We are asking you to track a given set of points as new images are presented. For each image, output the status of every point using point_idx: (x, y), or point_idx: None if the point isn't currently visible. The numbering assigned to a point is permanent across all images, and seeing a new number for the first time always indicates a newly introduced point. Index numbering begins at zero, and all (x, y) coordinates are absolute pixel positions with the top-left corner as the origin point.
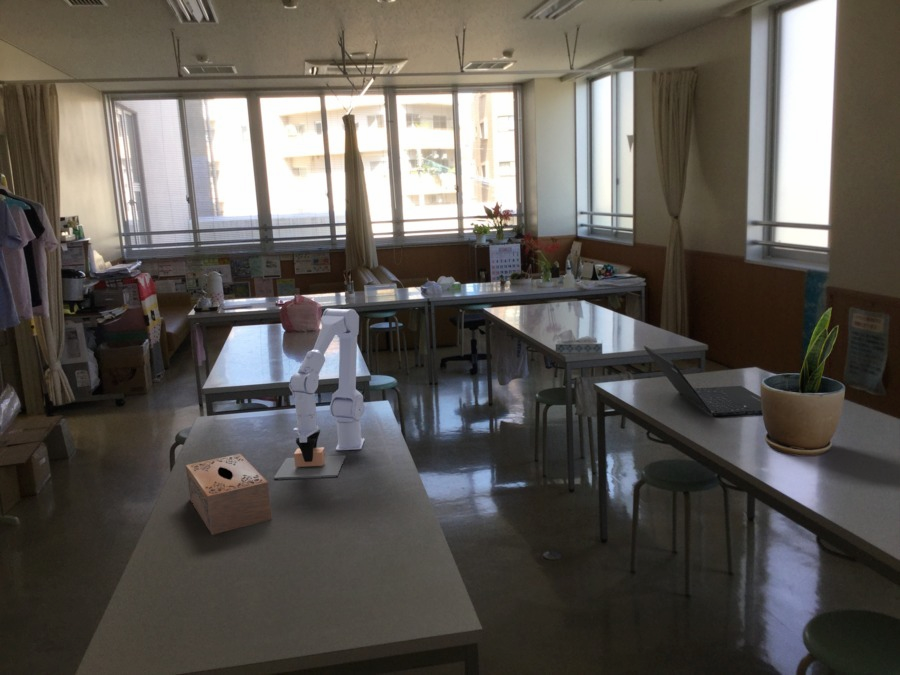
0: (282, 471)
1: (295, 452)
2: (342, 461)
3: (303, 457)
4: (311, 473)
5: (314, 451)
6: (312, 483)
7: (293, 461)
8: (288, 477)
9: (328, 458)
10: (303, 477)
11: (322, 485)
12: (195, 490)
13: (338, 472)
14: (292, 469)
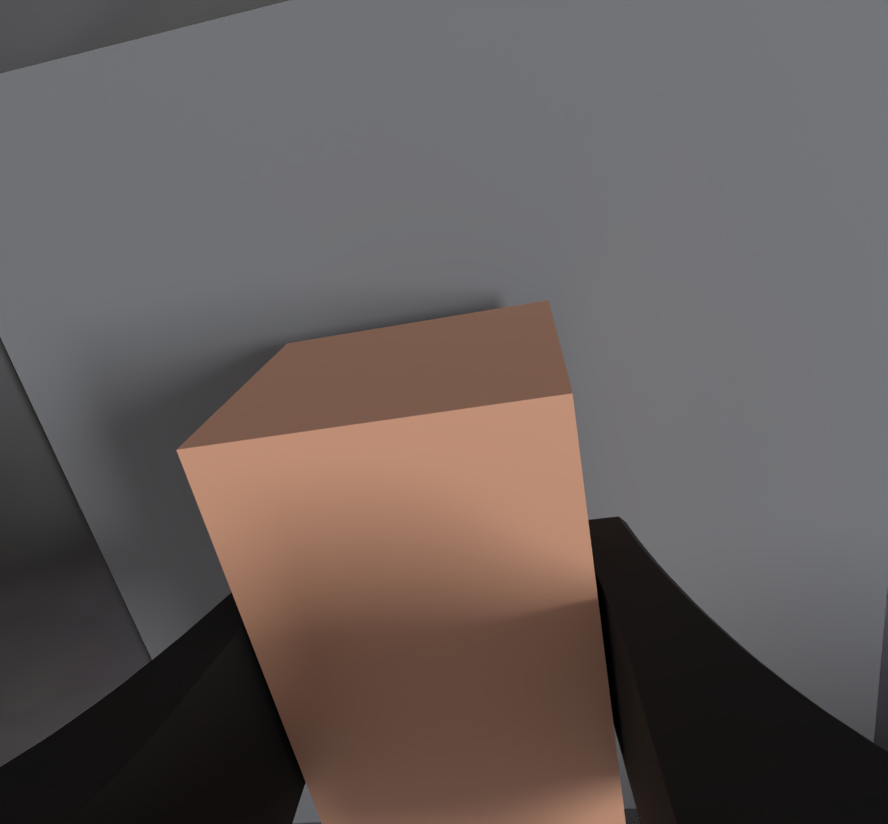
0: (170, 138)
1: (259, 459)
2: (633, 806)
3: (228, 598)
4: (201, 592)
5: (385, 795)
6: (13, 641)
7: (686, 131)
8: (6, 339)
9: (772, 646)
10: (99, 519)
11: (5, 733)
12: None
13: (308, 817)
14: (293, 281)
